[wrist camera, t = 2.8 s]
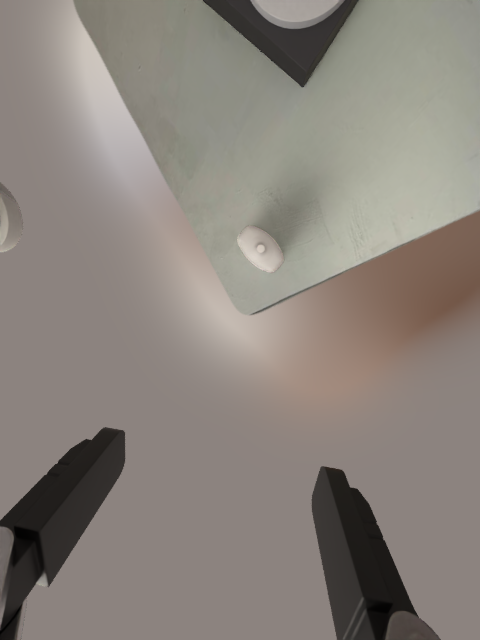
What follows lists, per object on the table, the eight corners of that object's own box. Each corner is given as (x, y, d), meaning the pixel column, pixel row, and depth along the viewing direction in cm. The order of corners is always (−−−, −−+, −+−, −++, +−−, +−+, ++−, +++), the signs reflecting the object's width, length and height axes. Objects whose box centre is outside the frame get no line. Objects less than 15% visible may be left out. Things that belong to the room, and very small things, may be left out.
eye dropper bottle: (251, 275, 33) (246, 286, 21) (239, 235, 32) (226, 224, 20) (282, 265, 32) (293, 271, 21) (270, 224, 31) (275, 206, 19)
